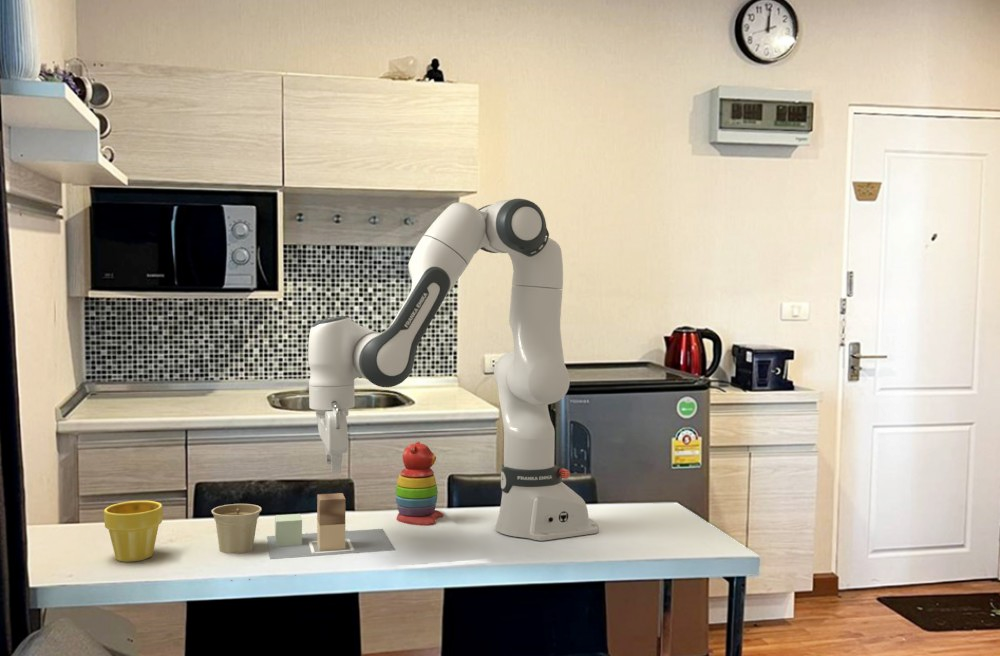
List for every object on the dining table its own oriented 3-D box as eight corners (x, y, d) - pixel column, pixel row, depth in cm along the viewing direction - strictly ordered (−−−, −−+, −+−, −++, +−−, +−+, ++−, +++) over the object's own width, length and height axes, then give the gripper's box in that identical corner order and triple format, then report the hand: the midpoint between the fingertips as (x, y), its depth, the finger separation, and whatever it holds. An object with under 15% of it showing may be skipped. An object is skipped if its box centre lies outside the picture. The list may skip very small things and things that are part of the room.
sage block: (300, 538, 182) (300, 514, 182) (301, 544, 177) (302, 520, 177) (275, 539, 180) (275, 515, 180) (276, 546, 176) (276, 521, 175)
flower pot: (269, 547, 178) (269, 505, 177) (248, 561, 169) (248, 516, 168) (226, 544, 180) (226, 502, 179) (202, 558, 170) (202, 513, 170)
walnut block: (342, 517, 179) (342, 493, 179) (345, 523, 174) (345, 498, 174) (317, 519, 178) (317, 494, 178) (319, 525, 173) (319, 500, 173)
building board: (382, 532, 190) (382, 505, 190) (395, 553, 175) (395, 524, 174) (267, 540, 183) (267, 512, 183) (269, 563, 168) (270, 532, 167)
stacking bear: (433, 530, 192) (433, 448, 192) (388, 526, 194) (389, 446, 194) (446, 517, 203) (446, 440, 202) (403, 514, 205) (404, 438, 204)
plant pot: (103, 567, 164) (103, 515, 163) (105, 552, 173) (104, 502, 173) (163, 561, 168) (163, 510, 167) (161, 547, 177) (161, 498, 177)
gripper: (354, 404, 166) (356, 477, 167) (342, 392, 186) (343, 457, 186) (320, 406, 164) (322, 480, 165) (311, 393, 184) (313, 459, 185)
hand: (333, 468), depth 176 cm, fingers open, 8 cm apart
